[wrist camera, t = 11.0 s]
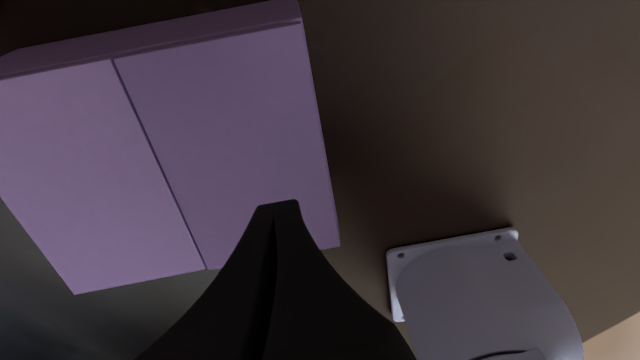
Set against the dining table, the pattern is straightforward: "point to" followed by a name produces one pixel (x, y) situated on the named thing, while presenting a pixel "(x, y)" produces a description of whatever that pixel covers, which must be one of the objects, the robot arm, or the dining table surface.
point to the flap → (89, 179)
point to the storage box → (219, 114)
